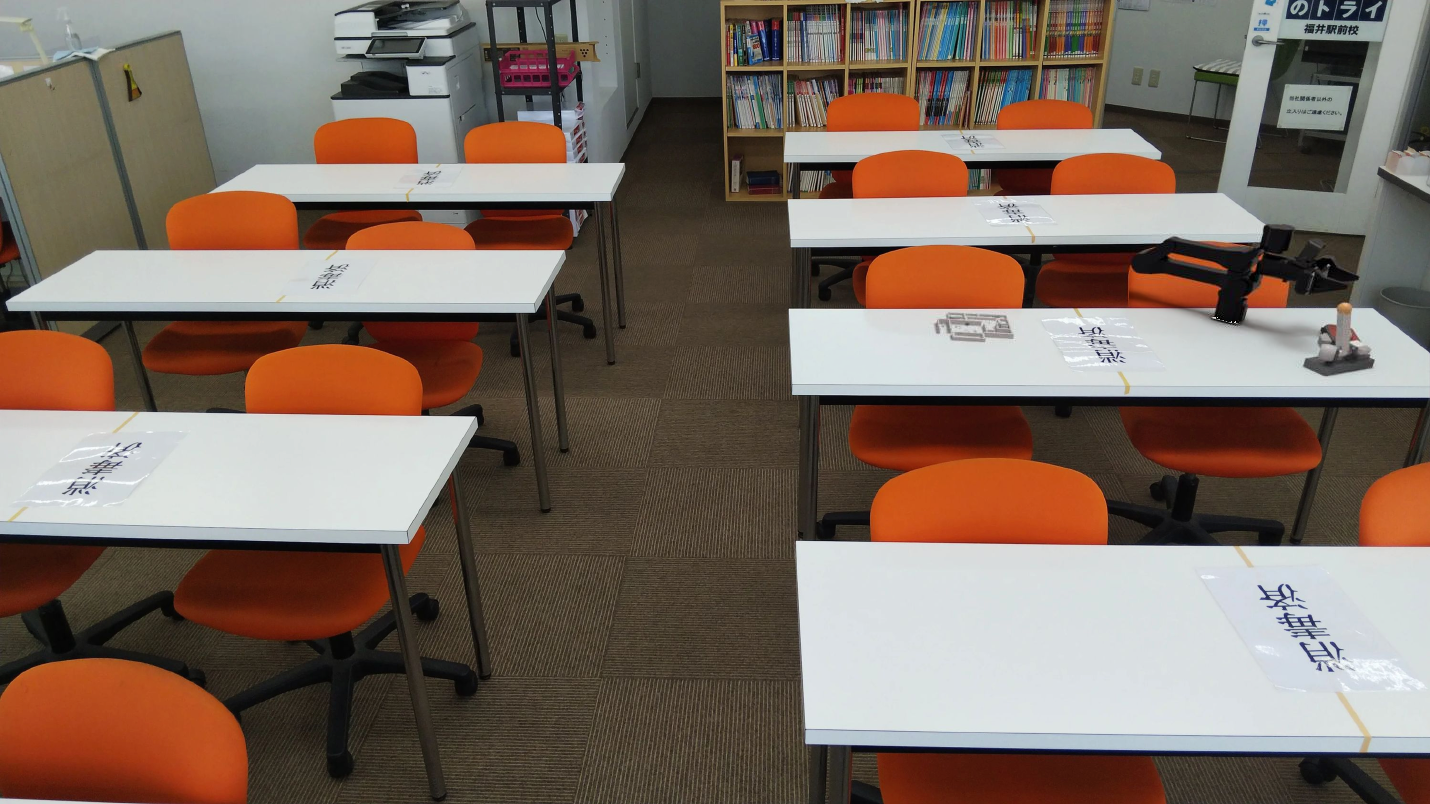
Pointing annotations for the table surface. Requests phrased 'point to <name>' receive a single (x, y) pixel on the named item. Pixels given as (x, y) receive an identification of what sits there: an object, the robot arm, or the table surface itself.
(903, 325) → the table surface
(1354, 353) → the slide switch base
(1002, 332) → the floor plan model
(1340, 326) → the ball-topped post
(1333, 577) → the table surface
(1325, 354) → the push button
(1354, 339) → the walkie-talkie
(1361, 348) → the white block
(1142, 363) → the table surface
